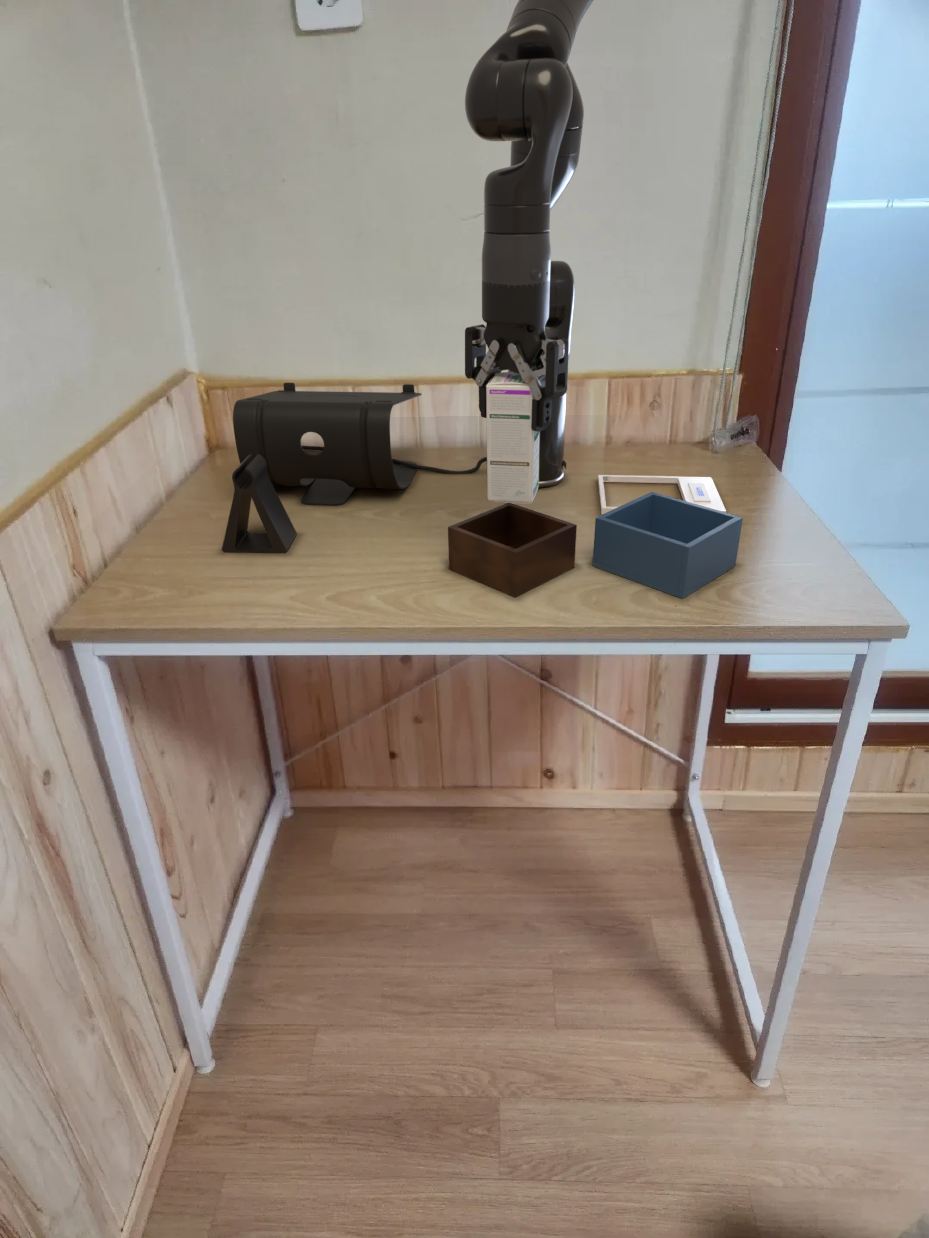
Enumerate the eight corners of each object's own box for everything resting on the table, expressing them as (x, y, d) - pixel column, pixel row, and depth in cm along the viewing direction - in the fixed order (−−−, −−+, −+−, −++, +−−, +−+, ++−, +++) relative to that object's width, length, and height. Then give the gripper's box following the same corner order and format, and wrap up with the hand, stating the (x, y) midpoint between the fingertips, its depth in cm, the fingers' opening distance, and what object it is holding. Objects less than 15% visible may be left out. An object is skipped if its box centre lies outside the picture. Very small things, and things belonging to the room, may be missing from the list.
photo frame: (726, 510, 123) (601, 507, 125) (725, 517, 124) (601, 514, 125) (711, 476, 136) (598, 473, 137) (710, 482, 136) (597, 480, 138)
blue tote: (592, 566, 110) (595, 517, 107) (647, 537, 118) (651, 491, 115) (682, 599, 102) (689, 547, 98) (735, 566, 110) (743, 517, 106)
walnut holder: (448, 569, 110) (447, 526, 107) (508, 542, 117) (508, 502, 114) (515, 597, 103) (516, 552, 100) (574, 567, 110) (576, 524, 107)
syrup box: (533, 505, 102) (537, 384, 95) (485, 501, 103) (485, 382, 96) (539, 488, 107) (543, 372, 100) (493, 485, 108) (494, 370, 101)
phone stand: (297, 535, 120) (287, 454, 114) (286, 553, 115) (275, 468, 109) (235, 534, 121) (222, 453, 115) (222, 552, 116) (207, 468, 110)
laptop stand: (238, 506, 131) (223, 406, 123) (284, 457, 151) (274, 369, 144) (400, 511, 128) (395, 409, 120) (425, 460, 148) (422, 371, 141)
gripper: (589, 278, 90) (580, 428, 99) (491, 267, 99) (491, 405, 107) (543, 287, 86) (538, 443, 94) (446, 274, 95) (449, 418, 103)
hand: (513, 423), depth 101 cm, fingers closed on syrup box, 7 cm apart
